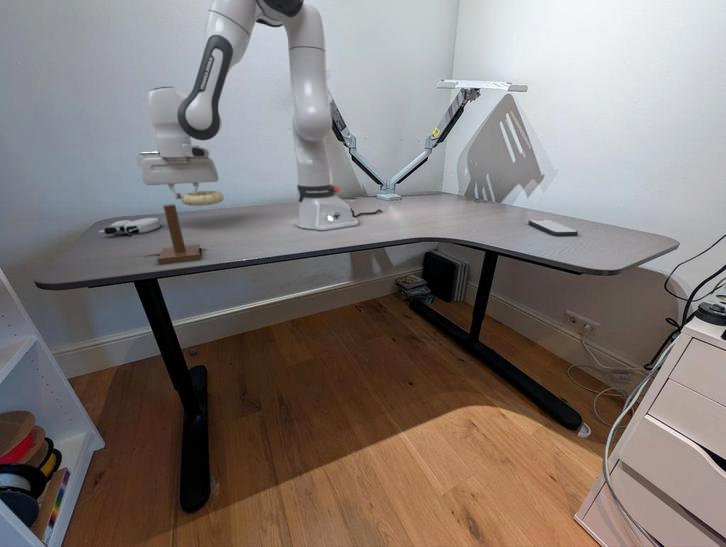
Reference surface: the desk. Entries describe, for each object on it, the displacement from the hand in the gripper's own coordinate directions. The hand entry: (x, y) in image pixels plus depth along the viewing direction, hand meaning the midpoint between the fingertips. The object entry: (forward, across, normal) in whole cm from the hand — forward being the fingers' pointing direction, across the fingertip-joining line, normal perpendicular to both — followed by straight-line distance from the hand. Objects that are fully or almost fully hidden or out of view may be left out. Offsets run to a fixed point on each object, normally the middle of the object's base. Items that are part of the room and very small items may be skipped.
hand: (187, 198), depth 97 cm
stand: (+12, -2, -22) cm, 25 cm away
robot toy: (+12, -18, +7) cm, 22 cm away
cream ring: (0, +4, 0) cm, 4 cm away
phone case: (+13, +115, -39) cm, 122 cm away
